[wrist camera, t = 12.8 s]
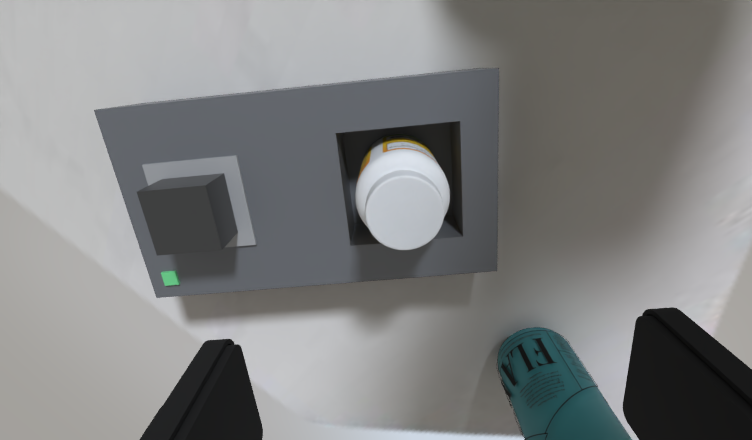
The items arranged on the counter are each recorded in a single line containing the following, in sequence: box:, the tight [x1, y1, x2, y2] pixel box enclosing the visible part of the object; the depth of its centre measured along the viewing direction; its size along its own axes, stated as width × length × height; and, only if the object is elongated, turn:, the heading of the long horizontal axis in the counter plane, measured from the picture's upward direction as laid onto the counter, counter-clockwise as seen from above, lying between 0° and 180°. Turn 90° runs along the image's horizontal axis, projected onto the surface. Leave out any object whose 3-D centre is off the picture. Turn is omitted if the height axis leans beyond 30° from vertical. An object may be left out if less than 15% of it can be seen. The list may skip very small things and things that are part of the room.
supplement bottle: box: [355, 134, 450, 250], centre depth 24 cm, size 5×5×10 cm
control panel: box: [94, 68, 499, 298], centre depth 27 cm, size 24×13×8 cm, turn 96°
